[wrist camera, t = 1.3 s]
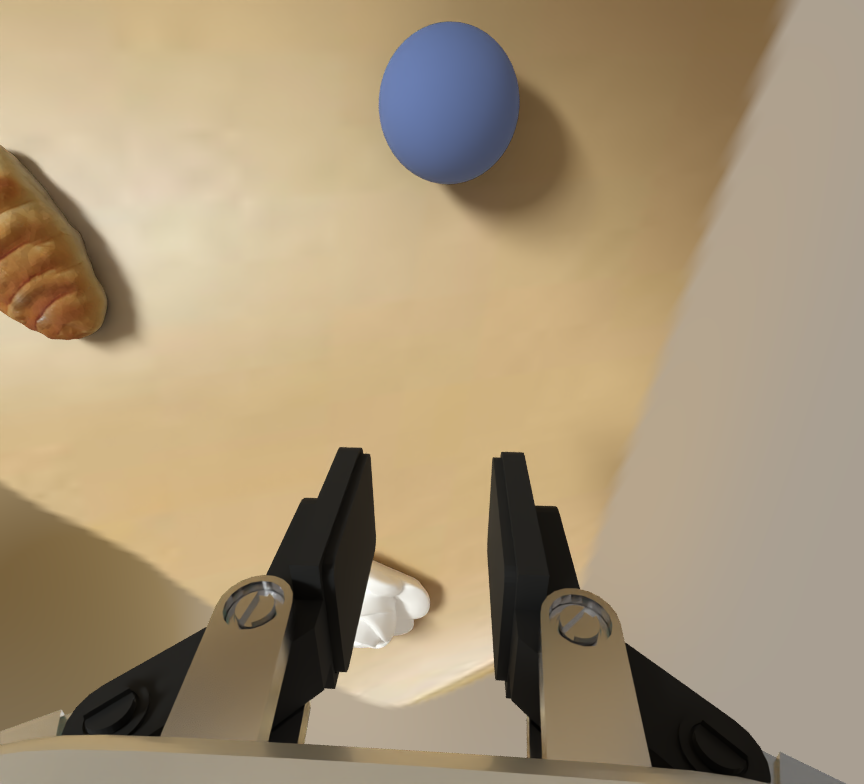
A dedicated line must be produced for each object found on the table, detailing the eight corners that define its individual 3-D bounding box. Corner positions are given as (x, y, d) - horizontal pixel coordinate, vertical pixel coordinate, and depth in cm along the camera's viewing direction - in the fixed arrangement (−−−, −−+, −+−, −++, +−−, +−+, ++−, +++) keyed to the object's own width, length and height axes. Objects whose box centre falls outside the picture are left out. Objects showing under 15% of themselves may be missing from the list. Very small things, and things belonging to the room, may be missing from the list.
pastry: (149, 294, 27) (101, 315, 23) (70, 354, 28) (15, 382, 25) (4, 128, 23) (-76, 124, 20) (-74, 209, 25) (-159, 217, 22)
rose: (404, 575, 28) (442, 682, 32) (411, 523, 32) (445, 624, 36) (247, 597, 30) (302, 697, 34) (272, 545, 34) (319, 640, 38)
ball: (365, 88, 22) (336, 68, 17) (476, 9, 20) (480, -39, 15) (428, 204, 24) (419, 216, 19) (533, 139, 22) (554, 133, 17)
